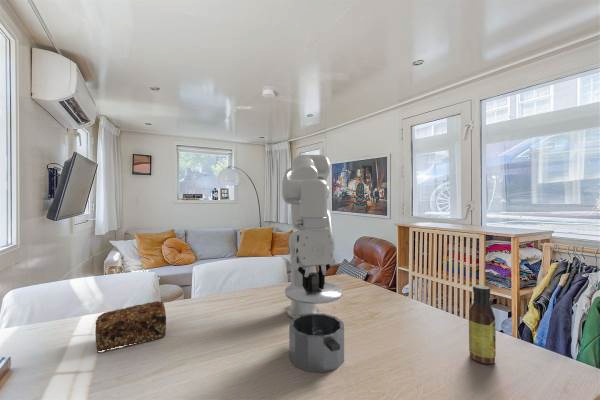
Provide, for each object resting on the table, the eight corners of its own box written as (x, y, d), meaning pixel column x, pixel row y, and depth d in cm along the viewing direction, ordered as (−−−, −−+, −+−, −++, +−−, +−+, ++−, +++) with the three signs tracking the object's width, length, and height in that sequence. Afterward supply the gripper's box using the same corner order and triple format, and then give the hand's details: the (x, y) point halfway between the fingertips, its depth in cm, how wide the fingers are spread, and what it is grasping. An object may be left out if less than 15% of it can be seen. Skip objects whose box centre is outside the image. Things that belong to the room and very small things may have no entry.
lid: (275, 288, 84) (275, 270, 84) (322, 281, 91) (322, 264, 91) (302, 308, 70) (302, 286, 69) (354, 297, 77) (354, 277, 77)
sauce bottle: (500, 366, 76) (500, 291, 75) (473, 364, 77) (474, 290, 77) (489, 353, 82) (489, 284, 82) (465, 351, 83) (465, 282, 83)
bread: (163, 325, 100) (163, 297, 100) (166, 339, 90) (166, 307, 90) (98, 339, 90) (97, 308, 90) (94, 356, 81) (94, 320, 81)
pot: (279, 344, 87) (279, 315, 87) (322, 334, 93) (322, 307, 93) (308, 385, 68) (308, 347, 68) (360, 369, 74) (360, 334, 74)
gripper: (291, 226, 73) (291, 297, 74) (346, 223, 80) (346, 289, 80) (281, 223, 80) (281, 288, 81) (332, 221, 87) (332, 281, 87)
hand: (313, 288), depth 80 cm, fingers closed on lid, 3 cm apart
